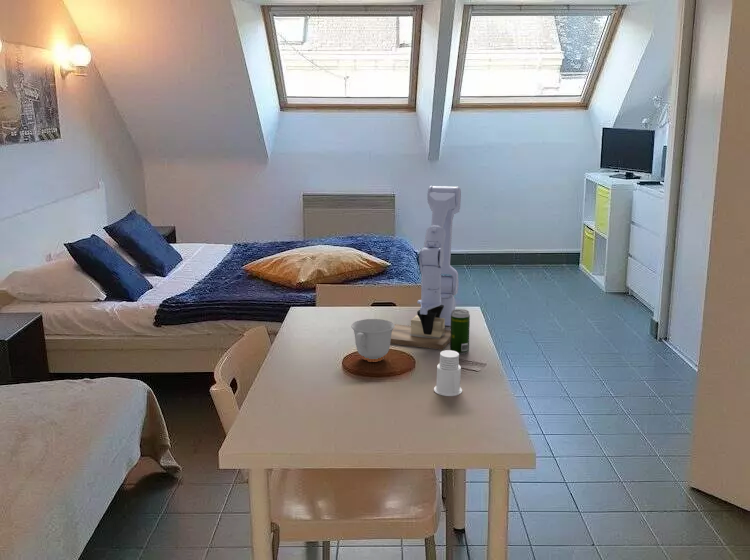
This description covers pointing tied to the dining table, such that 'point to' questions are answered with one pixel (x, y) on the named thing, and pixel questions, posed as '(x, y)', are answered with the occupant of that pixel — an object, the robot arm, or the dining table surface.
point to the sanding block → (436, 331)
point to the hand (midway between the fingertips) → (430, 331)
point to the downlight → (448, 374)
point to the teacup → (372, 337)
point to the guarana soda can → (460, 331)
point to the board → (417, 338)
